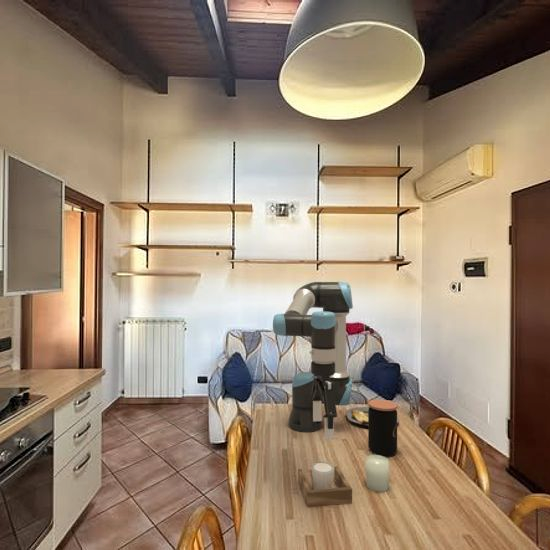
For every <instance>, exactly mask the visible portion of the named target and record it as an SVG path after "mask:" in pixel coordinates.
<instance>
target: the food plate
mask: <svg viewBox="0 0 550 550" xmlns="http://www.w3.org/2000/svg"><path fill="white" fill-rule="evenodd" d="M369 407H370V406H363V407H362V406H360V407H359V406H358V407H352V408H349V409H347V410H346V411H345V412H344V413H345V415H346V417H347V419H348V420H349V421H350V422H351V423H354V424H357V425H361V426H365V427H368V415H366V414H368V410H369ZM399 422H400V419H399V417H397V425H398V424H399Z"/></svg>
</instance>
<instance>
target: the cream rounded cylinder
mask: <svg viewBox="0 0 550 550" xmlns="http://www.w3.org/2000/svg"><path fill="white" fill-rule="evenodd" d="M365 465H366V466H365V468H366V469H365V471H366V472H365V474H366V475H365V476H366V477H365V481H366V482H365V484H366V487H367V488H368V489H370V490H372V491H373V492H379V493H381V492H382V493H383V492H387V491H388V490H389V489H390V461H389V459H388V457H383V456H380V455H376V454H370V455H368V456H366V459H365Z"/></svg>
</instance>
